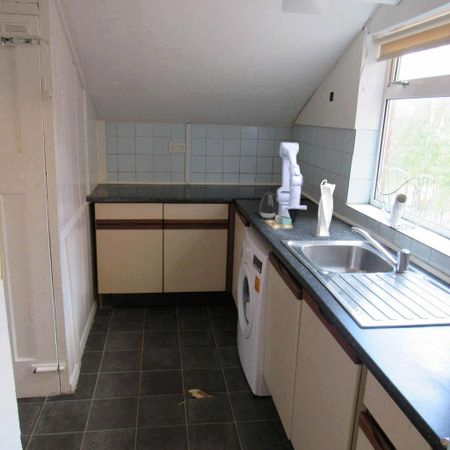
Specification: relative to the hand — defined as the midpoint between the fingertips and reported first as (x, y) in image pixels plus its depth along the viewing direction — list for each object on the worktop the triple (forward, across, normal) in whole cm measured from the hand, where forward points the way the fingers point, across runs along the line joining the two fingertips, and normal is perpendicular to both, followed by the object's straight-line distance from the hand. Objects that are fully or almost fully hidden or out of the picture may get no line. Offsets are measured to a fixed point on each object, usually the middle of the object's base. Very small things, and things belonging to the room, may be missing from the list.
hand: (292, 222), depth 237 cm
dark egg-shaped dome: (+2, -5, +22) cm, 23 cm away
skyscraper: (+2, +8, -20) cm, 21 cm away
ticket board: (+2, -7, +3) cm, 8 cm away
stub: (+1, -4, +1) cm, 4 cm away
